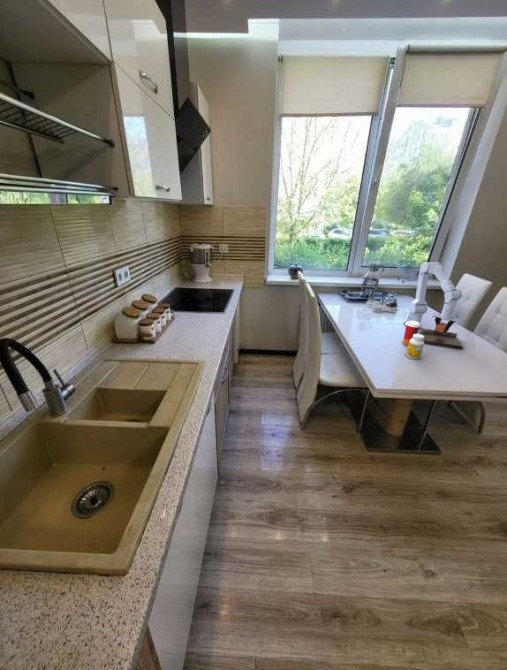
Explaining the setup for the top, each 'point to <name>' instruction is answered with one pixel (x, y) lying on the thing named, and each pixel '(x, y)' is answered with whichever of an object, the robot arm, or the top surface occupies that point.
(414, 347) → the supplement bottle
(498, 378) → the top surface
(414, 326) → the paper cup
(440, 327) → the reddish orange block
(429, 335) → the shelf board
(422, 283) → the robot arm
